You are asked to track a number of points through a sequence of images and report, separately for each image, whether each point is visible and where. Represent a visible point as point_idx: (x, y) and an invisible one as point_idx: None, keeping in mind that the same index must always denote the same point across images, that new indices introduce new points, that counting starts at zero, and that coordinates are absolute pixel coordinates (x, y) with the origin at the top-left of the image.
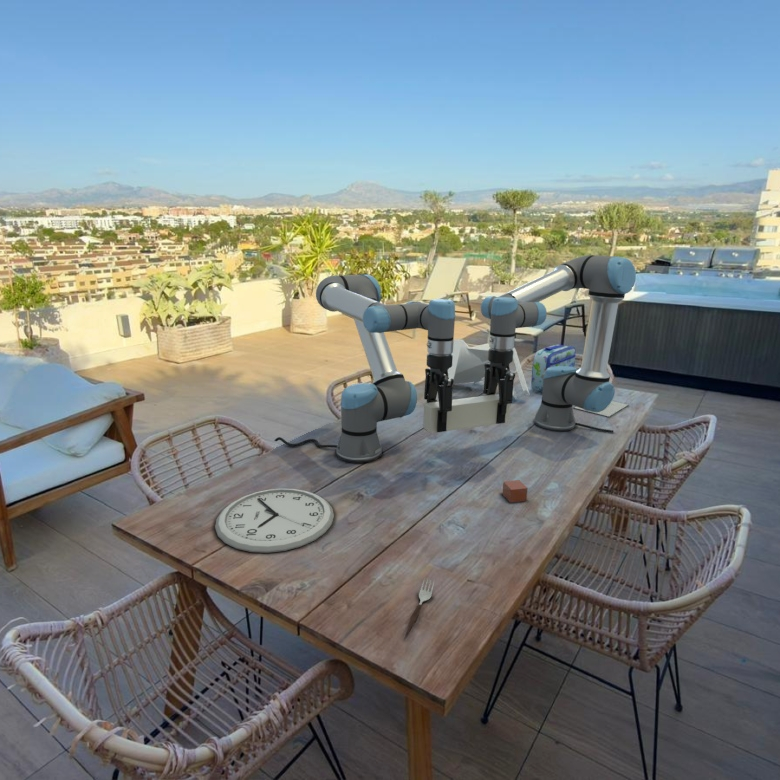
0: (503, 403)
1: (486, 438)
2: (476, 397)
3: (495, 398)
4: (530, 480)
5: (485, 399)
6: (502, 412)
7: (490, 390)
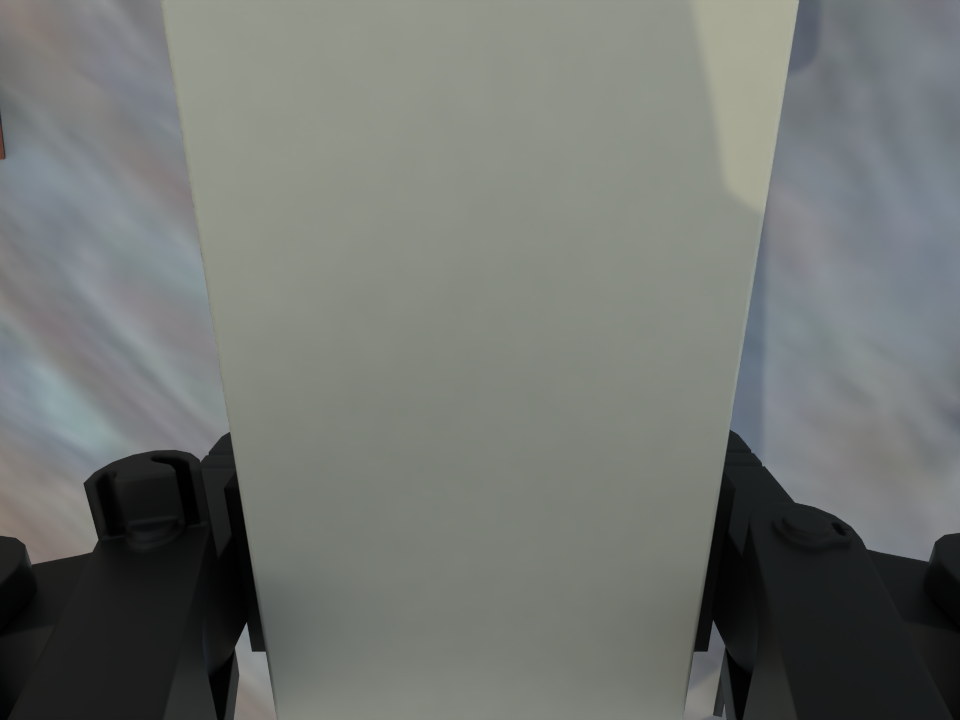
0: (18, 546)
1: (828, 433)
2: (712, 11)
3: (378, 551)
4: (158, 335)
5: (377, 220)
6: (214, 445)
7: (780, 700)
